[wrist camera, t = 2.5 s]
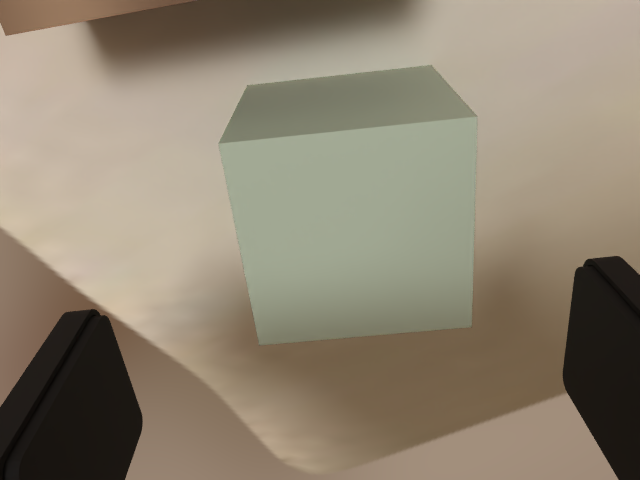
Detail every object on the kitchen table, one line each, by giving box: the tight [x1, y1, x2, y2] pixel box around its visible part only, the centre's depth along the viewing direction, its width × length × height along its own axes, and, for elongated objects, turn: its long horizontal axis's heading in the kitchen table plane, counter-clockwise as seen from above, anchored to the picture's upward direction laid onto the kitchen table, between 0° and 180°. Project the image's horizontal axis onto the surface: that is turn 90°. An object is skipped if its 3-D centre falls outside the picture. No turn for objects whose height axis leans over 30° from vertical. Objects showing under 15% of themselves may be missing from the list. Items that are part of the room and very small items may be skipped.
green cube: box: [219, 65, 477, 346], centre depth 17 cm, size 6×6×6 cm
